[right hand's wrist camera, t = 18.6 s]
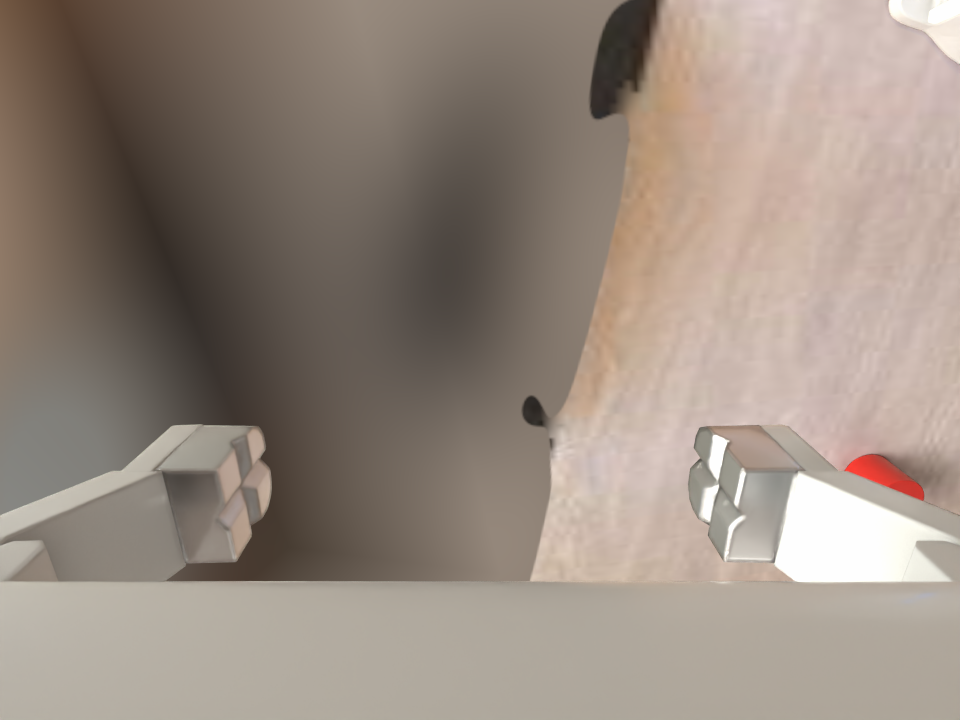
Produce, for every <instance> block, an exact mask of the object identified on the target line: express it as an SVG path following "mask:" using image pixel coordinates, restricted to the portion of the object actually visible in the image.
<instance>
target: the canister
mask: <svg viewBox="0 0 960 720" xmlns="http://www.w3.org/2000/svg"><path fill="white" fill-rule="evenodd" d="M845 471H849V472H851V473H854V474H856V475H859V476H861V477H864V478H866V479H869V480H871V481H874V482H876V483H879V484H881V485H884V486H886V487H889V488H892V489H894V490H897V491H899V492H902V493H904V494H907V495H909V496H912V497H914V498H917V499H919V500H922V501H923V500H924V491H923V489H922V487H921V486H920V485H919V484H918V483H916V482H915V481H914V480H913V479H911V478H910V477H909V476H907V475H906V474H905V473H903V472H902V471H901V470H900V469H898V468H897V467H896V466H894V465H893V464H892V463H890V462H889V461H888V460H887V459H885V458H884V457H882V456H879V455H873V454H871V455H865V456H862V457H859V458H857V459H856V460H854V461H853V462H851V463H850V464H849V465H848V467H847V468H846V470H845Z"/></svg>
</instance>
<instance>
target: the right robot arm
mask: <svg viewBox="0 0 960 720" xmlns="http://www.w3.org/2000/svg"><path fill="white" fill-rule="evenodd" d="M889 12H890V15H891V16H892V17H893V18H894V19H895V20H896V21H898V22H899V23H901V24H904V25H906V26H909V27H912V28H915V29H918V30H921V31H924V32H925V33H926V34H927V35H928V36H929V37H930V38H931V39H932V40H933V41H934V42H935V43H936V45H937V46H938V47H939V48H940V49H941V50H942V52H943V53H944V54H945V55H946V56H948V57H949V58H950V59H951V60H953V61H954V62H956V63H957V64H959V65H960V0H889ZM265 449H266V445H265V440H264V435H263V432H262V430H261V429H260V428H259V427H258V426H213V425H206V426H204V425H178V426H172V427H170V428H169V429H168V430H167V431H166V432H165V433H164V434H163V435H161V436H160V437H159V438H158V439H157V440H156V441H155V442H154V443H152V444H151V445H150V446H149V447H148V448H147V449H146V450H145V451H144V452H142V453H141V454H140V455H139V456H138V457H137V458H136V459H134V460H133V461H132V462H131V463H130V464H129V465H128V466H127V467H125V468H124V469H123V470H122V471H111V472H109V473H106V474H104V475H101V476H99V477H96V478H94V479H91V480H89V481H86V482H84V483H81V484H79V485H76V486H73V487H71V488H68V489H66V490H63V491H61V492H58V493H56V494H53V495H51V496H48V497H46V498H43V499H41V500H38V501H35V502H33V503H30V504H28V505H25V506H23V507H20V508H18V509H15V510H13V511H10V512H8V513H5V514H3V515H0V720H960V515H957V514H955V513H952V512H950V511H947V510H945V509H942V508H940V507H937V506H934V505H932V504H929V503H927V502H924V501H922V500H919V499H917V498H914V497H912V496H909V495H907V494H904V493H902V492H899V491H897V490H894V489H892V488H889V487H886V486H884V485H881V484H879V483H876V482H874V481H871V480H869V479H866V478H864V477H861V476H859V475H856V474H854V473H851V472H849V471H838V470H837V469H836V468H835V467H833V466H832V465H831V464H830V463H829V462H828V461H827V460H826V459H825V458H823V457H822V456H821V455H820V454H819V453H818V452H817V451H816V450H814V449H813V448H812V447H811V446H810V445H809V444H808V443H807V442H805V441H804V440H803V439H802V438H801V437H800V436H799V435H798V434H797V433H795V432H794V431H793V430H792V429H791V428H790V427H788V426H785V425H762V426H759V425H745V426H706V427H701V428H699V430H698V433H697V435H696V439H695V444H694V449H695V450H696V452H697V454H698V455H699V457H700V459H699V460H698V461H697V462H696V463H695V464H694V465H693V466H692V467H691V468H690V474H689V482H688V487H689V498H690V502H691V505H692V508H693V510H694V512H695V514H696V516H697V517H698V519H700V520H701V521H703V522H705V523H706V524H708V525H709V526H710V527H709V532H708V536H709V538H710V540H711V541H712V543H713V545H714V546H715V548H716V550H717V551H718V553H719V555H720V556H721V558H722V560H723V561H724V562H748V563H775V564H774V566H776V567H777V568H778V569H780V570H781V571H782V572H784V573H785V574H786V575H788V576H789V577H791V578H792V579H793V580H795V581H166V580H167V579H168V578H170V577H171V576H172V575H174V574H175V573H176V572H178V571H179V570H180V569H182V568H183V567H184V566H186V564H185V563H211V562H236V561H237V560H238V558H239V556H240V555H241V553H242V551H243V550H244V548H245V546H246V545H247V543H248V541H249V539H250V538H251V536H252V532H251V527H250V526H251V525H252V524H254V523H255V522H257V521H259V520H260V519H262V517H263V516H264V514H265V512H266V510H267V508H268V505H269V501H270V497H271V481H272V480H271V474H270V468H269V467H268V466H267V465H266V464H265V463H264V462H263V461H262V460H261V459H260V457H261V455H262V454H263V452H264V450H265Z"/></svg>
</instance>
